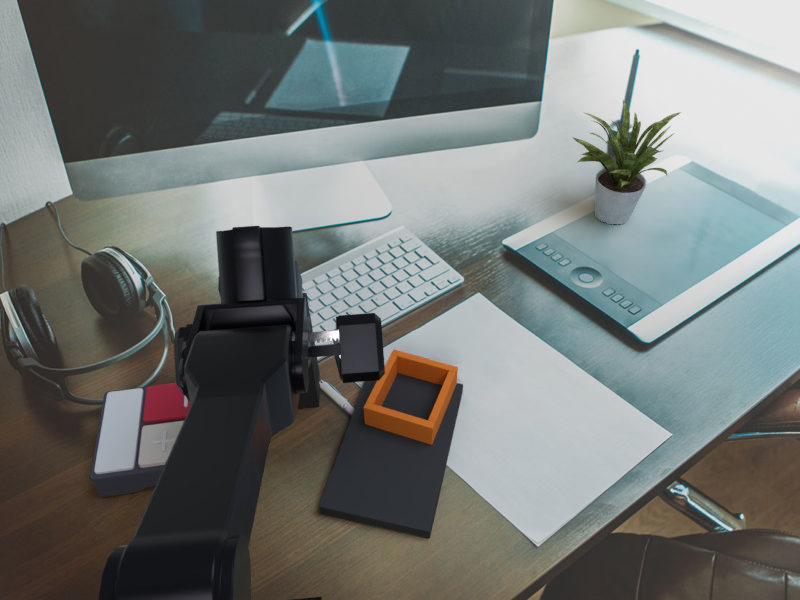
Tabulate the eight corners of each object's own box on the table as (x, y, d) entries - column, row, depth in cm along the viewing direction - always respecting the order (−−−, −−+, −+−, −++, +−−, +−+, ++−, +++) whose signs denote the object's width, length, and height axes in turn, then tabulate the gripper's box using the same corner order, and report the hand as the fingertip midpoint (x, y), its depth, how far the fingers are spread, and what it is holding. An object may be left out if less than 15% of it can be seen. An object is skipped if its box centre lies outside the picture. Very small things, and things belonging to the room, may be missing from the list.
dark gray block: (319, 406, 73) (305, 327, 64) (283, 409, 73) (265, 330, 64) (319, 372, 77) (306, 292, 68) (285, 375, 76) (268, 295, 67)
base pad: (429, 539, 62) (430, 516, 59) (320, 514, 64) (315, 490, 61) (463, 387, 75) (465, 361, 72) (371, 370, 77) (369, 344, 74)
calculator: (246, 453, 65) (86, 475, 62) (251, 476, 67) (99, 498, 65) (244, 369, 72) (102, 386, 70) (249, 393, 75) (112, 410, 73)
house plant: (615, 174, 106) (638, 78, 94) (683, 216, 97) (719, 116, 86) (548, 203, 100) (565, 105, 89) (615, 250, 92) (643, 149, 80)
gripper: (377, 252, 53) (375, 265, 69) (145, 268, 52) (196, 277, 68) (387, 388, 53) (383, 370, 68) (155, 407, 52) (203, 384, 67)
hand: (292, 347), depth 68 cm, fingers open, 9 cm apart
